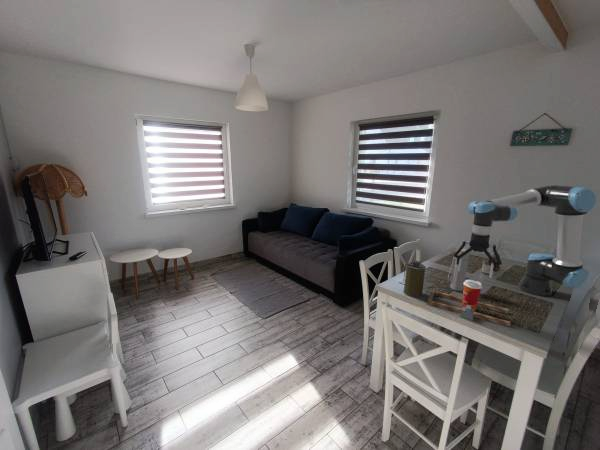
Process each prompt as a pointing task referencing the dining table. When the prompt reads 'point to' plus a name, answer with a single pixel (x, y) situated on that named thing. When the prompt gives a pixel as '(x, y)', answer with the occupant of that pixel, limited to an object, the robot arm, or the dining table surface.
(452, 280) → the water bottle
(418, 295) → the canister
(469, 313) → the block
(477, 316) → the brown piece
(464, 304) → the coffee cup
